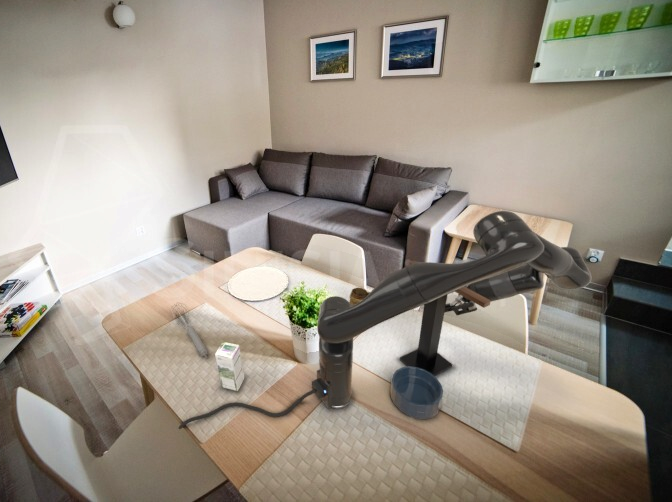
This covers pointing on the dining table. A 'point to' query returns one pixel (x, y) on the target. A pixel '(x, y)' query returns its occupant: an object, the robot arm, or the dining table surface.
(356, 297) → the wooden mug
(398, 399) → the bowl
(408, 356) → the stand
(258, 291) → the plate
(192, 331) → the kitchen whisk
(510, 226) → the robot arm
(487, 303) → the stirring paddle
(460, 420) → the dining table surface
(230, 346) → the syrup box
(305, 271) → the dining table surface
